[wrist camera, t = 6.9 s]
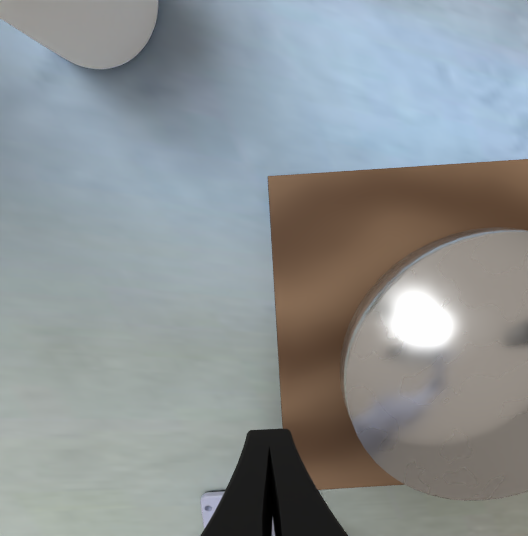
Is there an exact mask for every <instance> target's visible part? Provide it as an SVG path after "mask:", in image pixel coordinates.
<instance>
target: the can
mask: <svg viewBox="0 0 528 536" xmlns="http://www.w3.org/2000/svg"><path fill="white" fill-rule="evenodd" d="M157 14H158V0H0V18H1V19H2V20H4V21H5V22H7V23H8V24H10V25H12V26H13V27H15V28H16V29H18V30H19V31H21V32H23V33H24V34H26V35H27V36H29V37H30V38H32V39H34V40H35V41H37V42H38V43H40V44H42V45H43V46H45V47H46V48H48V49H50V50H51V51H53V52H54V53H56V54H58V55H59V56H61V57H63V58H64V59H66V60H68V61H70V62H72V63H74V64H76V65H79V66H82V67H85V68H90V69H109V68H114V67H117V66H120V65H122V64H125V63H126V62H128V61H130V60H131V59H133V58H134V57H135V56H136V55H137V54H138V53H139V52H140V51H141V50H142V49H143V48H144V47H145V45H146V44H147V42H148V41H149V39H150V37H151V35H152V32H153V30H154V27H155V24H156V20H157Z"/></svg>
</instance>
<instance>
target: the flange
mask: <svg viewBox="0 0 528 536" xmlns="http://www.w3.org/2000/svg"><path fill="white" fill-rule="evenodd" d="M339 373H340V384H341V391H342V395H343V399H344V403H345V406H346V408H347V411H348V414H349V416H350V419H351V421H352V424H353V426H354V429H355V431H356V434H357V436H358V438H359V440H360V441H361V443H362V445H363V447H364V448H365V450H366V451H367V452H368V454H369V455H370V456H371V457H372V459H373V460H374V461H375V462H376V463H377V464H378V465H379V466H380V467H381V468H382V469H383V470H385V471H386V472H387V473H388V474H389V475H391V476H392V477H394V478H395V479H397V480H398V481H400V482H401V483H403V484H405V485H407V486H409V487H411V488H413V489H415V490H418V491H421V492H424V493H427V494H430V495H433V496H438V497H443V498H447V499H456V500H488V499H497V498H503V497H508V496H512V495H517V494H520V493H523V492H526V491H528V230H521V229H514V228H482V229H474V230H468V231H464V232H460V233H456V234H452V235H449V236H446V237H443V238H441V239H438V240H436V241H433V242H431V243H429V244H427V245H425V246H423V247H421V248H419V249H417V250H416V251H414V252H412V253H411V254H409V255H408V256H406V257H405V258H403V259H402V260H401V261H399V262H398V263H396V264H395V265H394V266H393V267H392V268H391V269H389V270H388V271H387V272H386V273H385V274H384V275H383V276H382V277H381V278H380V279H379V280H378V281H377V282H376V283H375V284H374V286H373V287H372V288H371V289H370V290H369V291H368V293H367V294H366V296H365V297H364V299H363V300H362V302H361V303H360V304H359V306H358V308H357V310H356V312H355V313H354V315H353V317H352V319H351V321H350V323H349V326H348V329H347V332H346V335H345V338H344V341H343V346H342V351H341V356H340V371H339Z"/></svg>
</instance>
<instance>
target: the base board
mask: <svg viewBox="0 0 528 536" xmlns="http://www.w3.org/2000/svg"><path fill="white" fill-rule="evenodd" d="M268 191H269V207H270V224H271V241H272V258H273V275H274V291H275V308H276V325H277V342H278V359H279V376H280V392H281V409H282V426H283V429H288V430H290V431H291V434H292V438H293V441H294V443H295V446H296V448H297V451H298V453H299V455H300V457H301V460H302V462H303V464H304V466H305V468H306V470H307V471H308V473H309V475H310V477H311V479H312V481H313V483H314V484H315V486H316V488H317V490H322V489H338V488H355V487H371V486H387V485H404V484H403V483H401V482H400V481H398V480H397V479H395V478H394V477H392V476H391V475H389V474H388V473H387V472H386V471H385V470H383V469H382V468H381V467H380V466H379V465H378V464H377V463H376V462H375V461H374V460H373V459H372V457H371V456H370V455H369V454H368V452H367V451H366V450H365V448H364V447H363V445H362V443H361V441H360V440H359V438H358V436H357V434H356V431H355V429H354V426H353V424H352V421H351V419H350V416H349V414H348V411H347V408H346V406H345V403H344V399H343V395H342V391H341V384H340V373H339V371H340V356H341V351H342V346H343V341H344V338H345V335H346V332H347V329H348V326H349V323H350V321H351V319H352V317H353V315H354V313H355V312H356V310H357V308H358V306H359V304H360V303H361V302H362V300H363V299H364V297H365V296H366V294H367V293H368V291H369V290H370V289H371V288H372V287H373V286H374V284H375V283H376V282H377V281H378V280H379V279H380V278H381V277H382V276H383V275H384V274H385V273H386V272H387V271H388V270H389V269H391V268H392V267H393V266H394V265H395V264H396V263H398V262H399V261H401V260H402V259H403V258H405V257H406V256H408V255H409V254H411V253H412V252H414V251H416V250H417V249H419V248H421V247H423V246H425V245H427V244H429V243H431V242H433V241H436V240H438V239H441V238H443V237H446V236H449V235H452V234H456V233H460V232H464V231H468V230H474V229H482V228H514V229H521V230H528V159H523V160H508V161H493V162H477V163H462V164H447V165H432V166H417V167H402V168H387V169H372V170H356V171H341V172H326V173H311V174H296V175H281V176H268Z"/></svg>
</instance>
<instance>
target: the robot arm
mask: <svg viewBox="0 0 528 536" xmlns="http://www.w3.org/2000/svg"><path fill="white" fill-rule="evenodd" d="M208 505H209V506H208ZM201 510H202V517H203V524H204V531H203V532H202V534H201V536H348V535H347V534H346V532H345V531H344V529H343V528H342V527H341V525H340V524H339V522H338V521H337V519H336V518H335V517H334V515H333V514H332V512H331V511H330V509H329V507H328V506H327V504H326V503H325V501H324V499H323V498H322V496H321V495H320V493H319V491H318V490H317V488H316V486H315V484H314V483H313V481H312V479H311V477H310V475H309V473H308V471H307V470H306V468H305V466H304V464H303V462H302V460H301V457H300V455H299V453H298V451H297V448H296V446H295V443H294V441H293V438H292V434H291V431H290V430H288V429H267V430H250V431H249V432H248V433H247V436H246V441H245V444H244V447H243V450H242V453H241V456H240V458H239V461H238V464H237V466H236V468H235V471H234V473H233V475H232V478H231V480H230V482H229V484H228V486H227V488H226V490H225V491H222V492H207V493H204V494H203V495H202V497H201Z"/></svg>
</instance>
